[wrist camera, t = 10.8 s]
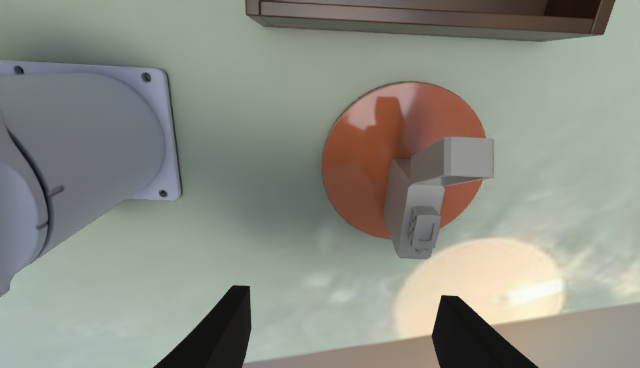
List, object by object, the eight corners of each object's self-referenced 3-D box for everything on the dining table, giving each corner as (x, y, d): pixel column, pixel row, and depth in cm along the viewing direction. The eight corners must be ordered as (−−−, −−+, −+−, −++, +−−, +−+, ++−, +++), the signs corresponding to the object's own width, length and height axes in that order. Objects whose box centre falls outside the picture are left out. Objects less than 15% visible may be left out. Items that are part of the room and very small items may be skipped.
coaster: (318, 231, 21) (318, 235, 20) (326, 77, 17) (326, 77, 17) (463, 238, 21) (467, 243, 21) (501, 86, 17) (507, 86, 17)
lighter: (408, 220, 20) (459, 313, 12) (382, 219, 20) (417, 311, 12) (427, 109, 17) (506, 143, 10) (397, 108, 17) (452, 140, 10)
